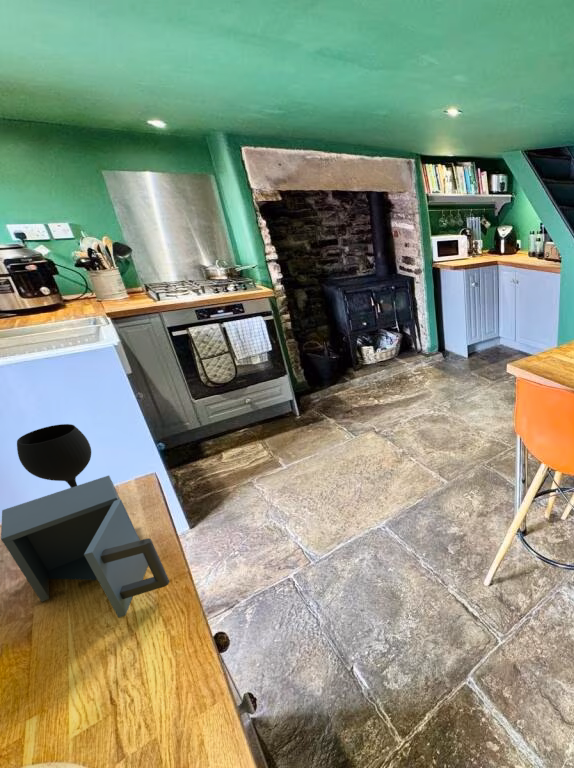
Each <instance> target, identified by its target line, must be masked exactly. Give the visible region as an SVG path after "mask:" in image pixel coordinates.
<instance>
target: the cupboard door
mask: <svg viewBox="0 0 574 768" xmlns="http://www.w3.org/2000/svg"><path fill="white" fill-rule="evenodd" d="M84 556H85V558H86V559H87V561H88V563H89V565H90V567H91V569H92V570H93V572H94V574H95V576H96V578H97V579H98V580H97V581H98V583H99V585H100V587H101V589H102V590H103V593H104V594H105V597H106V598H107V600H108V601H109V603H110V605H111V608H112V609H113V610H114V613H115V614H116V616H117V618H121V617H125V616H126V615H127V613H128V612H129V611H128V610H129V609H130V605H131V602H132V600H133V598H134V597H136V596H139V595H143V594H146V593H148V592H152V591H155V590H159V589H162V588H165V587H167V586H168V585H169V584H170V583H171V581H170V578H169V577H168V574H167V571H166V569H165V568H164V565H163V563H162V560H161V558H160V556H159V554H158V552H157V549H156V548H155V545H154V543H153V541H152V539H151V538H149V537H148V538H144V539H140V537H139V535H138V533H137V531H136V528H135V526H134V524H133V522H132V519H131V518H130V516H129V514H128V512H127V509H126V507H125V504H124V502H123V501H122V499H120V500H116V501H114V502H113V504H112V506H111V507H110V509H109V511H108V513H107V514H106V516H105V518H104V520H103V522H102V523H101V525H100V527H99V529H98V530H97V532H96V534H95V536H94V537H93V539H92V541H91V543H90V545H89V546H88V548H87V550H86V552H85V553H84ZM148 567H149V570H150V572H151V574H152V576H151V577H148V578H145V575H146V573H147V570H148Z"/></svg>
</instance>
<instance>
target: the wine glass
mask: <svg viewBox="0 0 574 768" xmlns="http://www.w3.org/2000/svg"><path fill="white" fill-rule="evenodd" d="M16 450H17V451H16V452H17V456H18V459H19V461H20V463H21V465H22V467H23V468H24V469H25V470H26V471H27V472H28V473H30V474H31V475H33V476H34V477H37V478H39V479H43V480H47V481H54V482H55V481H56V482H66V483H67V485H69V488H72V487H75V486H78V483H77V480H76V479H77V477H78V476H79V475H80V474H81V473H83V471H84V470H85V469H86V468H87V467H88V465H89V463H90V461H91V458H92V448H91V444H90V442H89V440H88V438H87V437H86V435H84V433H83V432H82V431H81V430H80V429H79V428H78V427H77V426H75V425H74V424H70V423H62V424H55V425H50V426H45V427H41V428H38V429H35V430H32V431H30V432H28V433H24V434H23V435H22V436H20V437H19V438H18V439H17V440H16Z"/></svg>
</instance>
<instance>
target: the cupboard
mask: <svg viewBox="0 0 574 768" xmlns="http://www.w3.org/2000/svg"><path fill="white" fill-rule="evenodd" d="M116 500H121V498H120V496H119V494H118V491H117V489H116V487H115V485H114V482H113V480H112V478H111V476H110V475H106V476H102V477H100V478H97V479H93V480H91V481H88V482H84V483H81V484H77V486H75V487H72V488H71V487H69V488H66V489H63V490H60V491H56V492H54V493H51V494H48V495H45V496H41V497H38V498H35V499H32V500H28V501H26V502H23V503H20V504H17V505H14V506H10V507H8V508H4V509H2V510H1V530H0V531H1V532H0V540H1V542H2V543H3V545H4V546H5V548H6V550H7V551H8V552H9V554H10V555H11V558H12V559H13V560H14V562H15V563H16V565H17V566H18V568H19V570H20V571H21V573H22V574H23V576H24V577H25V579H26V580H27V582H28V584H29V585H30V586H31V588H32V590H33V592H34V593H35V594H36V596H37V598H38V599H39V601H40V602H41V603H43V602H45V601H47V600H49V599H50V586H49V580H77V581H78V580H80V581H81V580H82V581H98V579H97V578H96V576H95V574H94V572H93V570H92V569H91V567H90V565H89V563H88V561H87V559H86V558H85V556H84V553H85V552H86V550H87V548H88V546H89V545H90V543H91V541H92V539H93V537H94V536H95V534H96V532H97V530H98V529H99V527H100V525H101V523H102V522H103V520H104V518H105V516H106V514H107V513H108V511H109V509H110V507H111V506H112V504H113V502H114V501H116Z"/></svg>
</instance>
